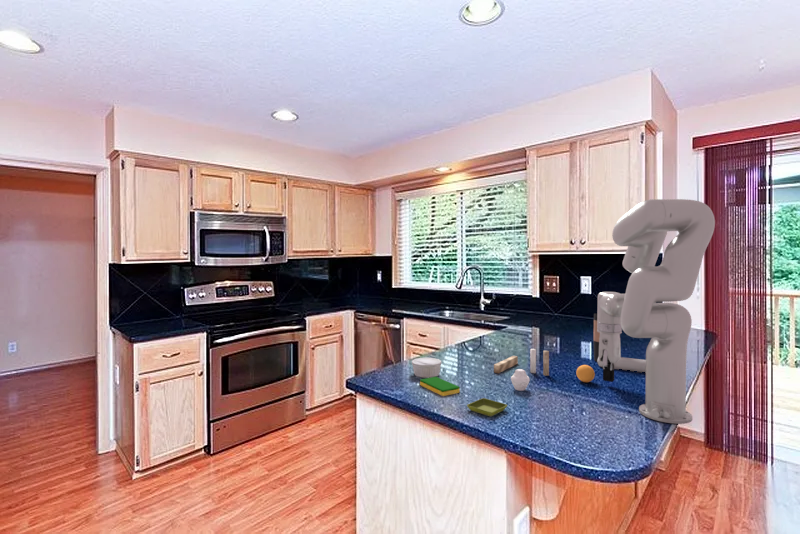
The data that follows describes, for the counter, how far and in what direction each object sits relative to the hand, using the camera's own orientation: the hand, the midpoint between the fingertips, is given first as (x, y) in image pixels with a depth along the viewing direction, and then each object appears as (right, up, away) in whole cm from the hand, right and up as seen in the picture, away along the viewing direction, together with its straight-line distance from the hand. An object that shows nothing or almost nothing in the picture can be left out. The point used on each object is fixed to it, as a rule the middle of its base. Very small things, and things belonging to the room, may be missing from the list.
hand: (608, 380), depth 142 cm
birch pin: (-17, -2, +13) cm, 22 cm away
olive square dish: (-47, -3, -22) cm, 52 cm away
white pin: (-21, -1, +16) cm, 26 cm away
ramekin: (-62, -2, +15) cm, 64 cm away
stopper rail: (-29, -1, +23) cm, 37 cm away
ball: (-6, +1, +4) cm, 8 cm away
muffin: (-31, -2, -3) cm, 32 cm away
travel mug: (+14, -1, +33) cm, 36 cm away
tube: (+19, -2, +19) cm, 27 cm away
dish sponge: (-59, -3, -2) cm, 59 cm away
